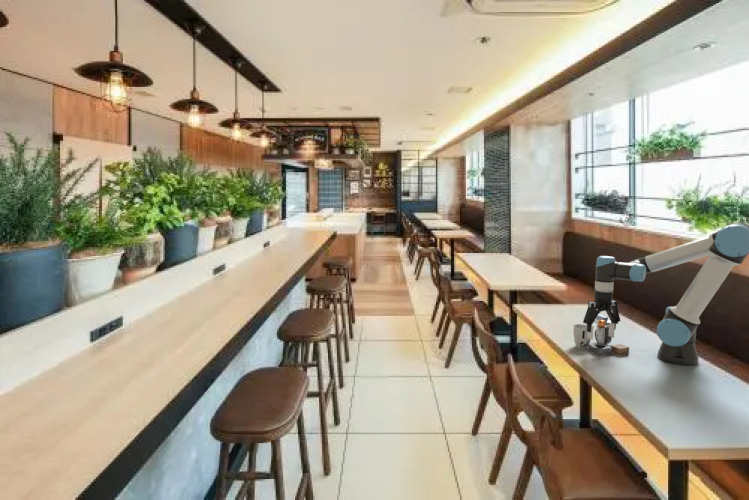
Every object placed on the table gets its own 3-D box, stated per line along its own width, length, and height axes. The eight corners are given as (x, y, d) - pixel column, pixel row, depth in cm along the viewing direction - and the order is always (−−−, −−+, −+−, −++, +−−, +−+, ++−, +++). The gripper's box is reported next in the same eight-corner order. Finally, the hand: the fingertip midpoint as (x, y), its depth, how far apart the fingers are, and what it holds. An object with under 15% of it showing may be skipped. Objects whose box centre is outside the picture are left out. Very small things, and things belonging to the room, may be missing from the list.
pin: (604, 353, 215) (606, 321, 213) (599, 353, 214) (601, 321, 212) (600, 351, 218) (602, 319, 216) (594, 351, 217) (596, 320, 215)
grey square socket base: (611, 354, 214) (612, 347, 213) (598, 355, 212) (599, 349, 211) (600, 349, 220) (601, 343, 220) (587, 350, 219) (588, 344, 218)
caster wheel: (614, 345, 225) (616, 318, 224) (602, 347, 224) (604, 319, 222) (599, 339, 235) (601, 313, 233) (587, 340, 233) (589, 314, 231)
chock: (628, 354, 214) (629, 347, 214) (619, 356, 212) (619, 348, 211) (619, 351, 219) (619, 343, 218) (609, 352, 216) (610, 345, 216)
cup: (580, 350, 219) (581, 329, 217) (568, 345, 226) (569, 324, 225) (594, 349, 221) (596, 328, 219) (582, 343, 228) (584, 323, 227)
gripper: (619, 287, 219) (615, 333, 222) (576, 290, 213) (573, 337, 216) (631, 290, 212) (628, 338, 215) (587, 293, 206) (584, 342, 209)
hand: (600, 337), depth 215 cm, fingers open, 11 cm apart
